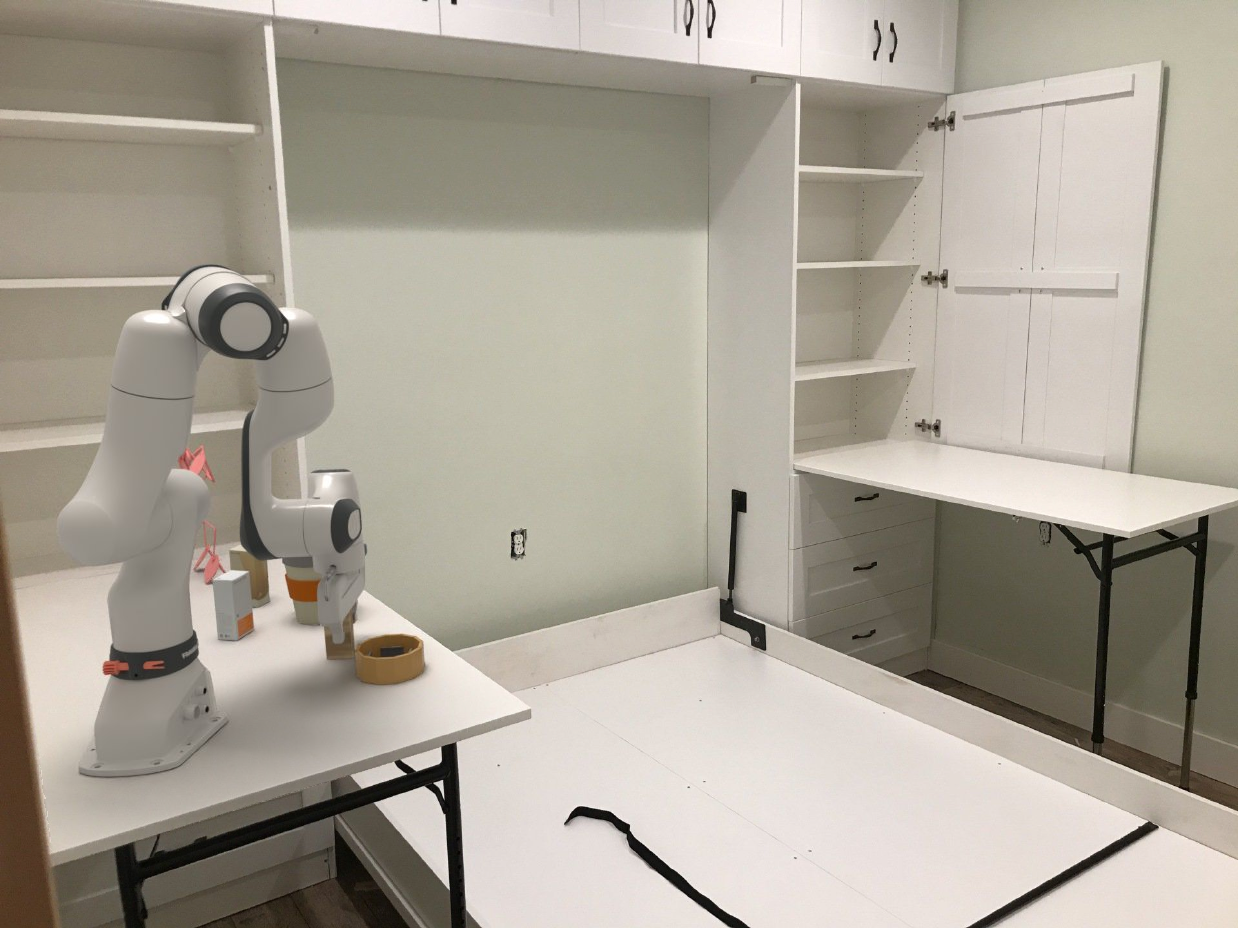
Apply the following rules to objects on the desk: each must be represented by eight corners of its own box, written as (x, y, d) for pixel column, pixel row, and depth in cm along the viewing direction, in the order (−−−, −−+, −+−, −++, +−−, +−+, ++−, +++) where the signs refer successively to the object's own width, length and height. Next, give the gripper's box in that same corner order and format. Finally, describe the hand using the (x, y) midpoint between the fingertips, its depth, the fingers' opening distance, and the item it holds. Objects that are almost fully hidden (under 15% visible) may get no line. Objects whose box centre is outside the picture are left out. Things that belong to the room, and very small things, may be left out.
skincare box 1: (232, 605, 204) (226, 549, 201) (245, 599, 208) (239, 543, 206) (259, 607, 202) (254, 551, 200) (271, 600, 206) (266, 545, 204)
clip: (414, 673, 167) (413, 658, 166) (361, 676, 166) (360, 661, 166) (418, 658, 173) (417, 643, 173) (368, 660, 173) (367, 646, 172)
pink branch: (219, 558, 237) (201, 416, 229) (240, 587, 215) (221, 431, 208) (150, 571, 229) (129, 423, 222) (165, 602, 208) (141, 440, 200)
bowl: (420, 682, 165) (418, 657, 164) (352, 685, 164) (350, 660, 163) (427, 656, 176) (425, 632, 175) (363, 659, 175) (361, 635, 174)
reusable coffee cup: (329, 601, 205) (324, 532, 202) (365, 614, 197) (359, 542, 194) (275, 618, 196) (268, 546, 193) (310, 632, 188) (303, 557, 185)
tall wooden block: (352, 658, 176) (348, 605, 174) (326, 659, 175) (322, 606, 173) (355, 651, 179) (351, 599, 176) (329, 652, 178) (325, 600, 176)
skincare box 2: (237, 641, 184) (231, 580, 182) (217, 640, 185) (211, 579, 183) (255, 629, 190) (250, 570, 188) (236, 628, 191) (230, 569, 189)
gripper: (343, 575, 162) (350, 654, 165) (368, 541, 182) (374, 611, 185) (304, 577, 162) (312, 655, 165) (334, 542, 182) (341, 613, 185)
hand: (345, 632), depth 175 cm, fingers open, 8 cm apart
